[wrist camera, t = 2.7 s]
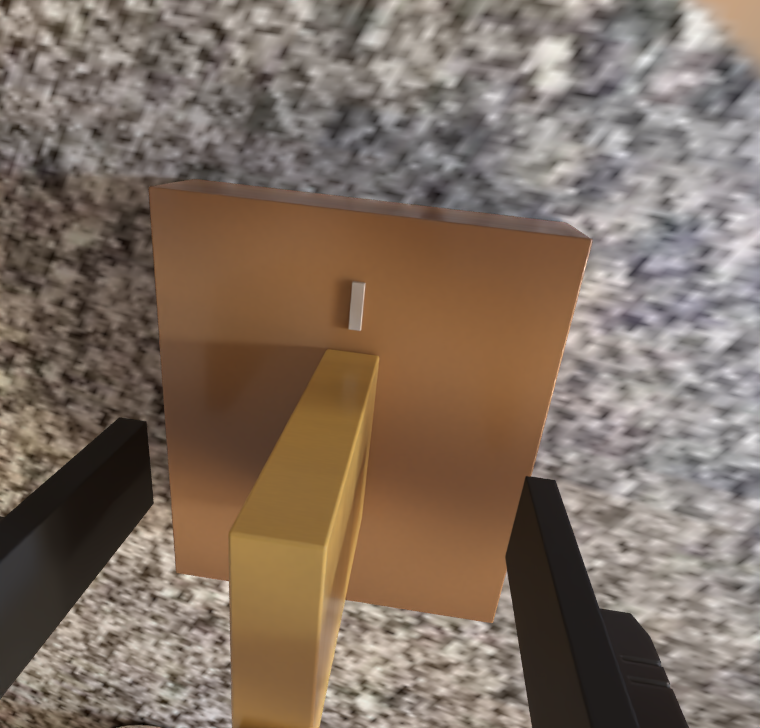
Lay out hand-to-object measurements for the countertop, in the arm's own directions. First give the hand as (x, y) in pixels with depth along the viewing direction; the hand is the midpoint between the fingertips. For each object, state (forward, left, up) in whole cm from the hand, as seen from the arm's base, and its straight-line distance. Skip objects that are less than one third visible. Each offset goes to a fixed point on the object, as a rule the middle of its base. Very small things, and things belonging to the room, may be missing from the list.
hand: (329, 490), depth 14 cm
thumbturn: (0, 0, -3) cm, 3 cm away
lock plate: (0, 0, -6) cm, 6 cm away
